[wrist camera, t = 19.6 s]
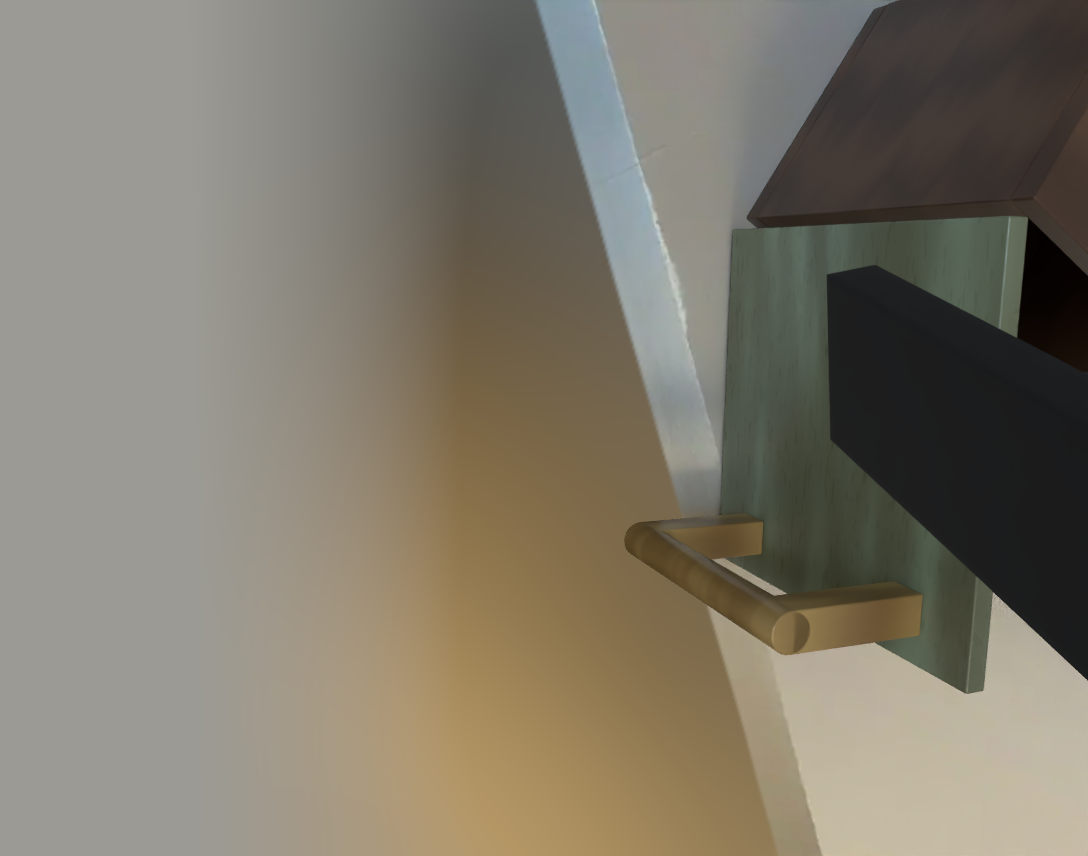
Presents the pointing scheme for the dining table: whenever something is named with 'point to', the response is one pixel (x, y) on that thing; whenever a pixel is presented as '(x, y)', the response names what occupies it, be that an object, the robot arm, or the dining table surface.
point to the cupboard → (960, 141)
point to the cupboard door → (833, 456)
